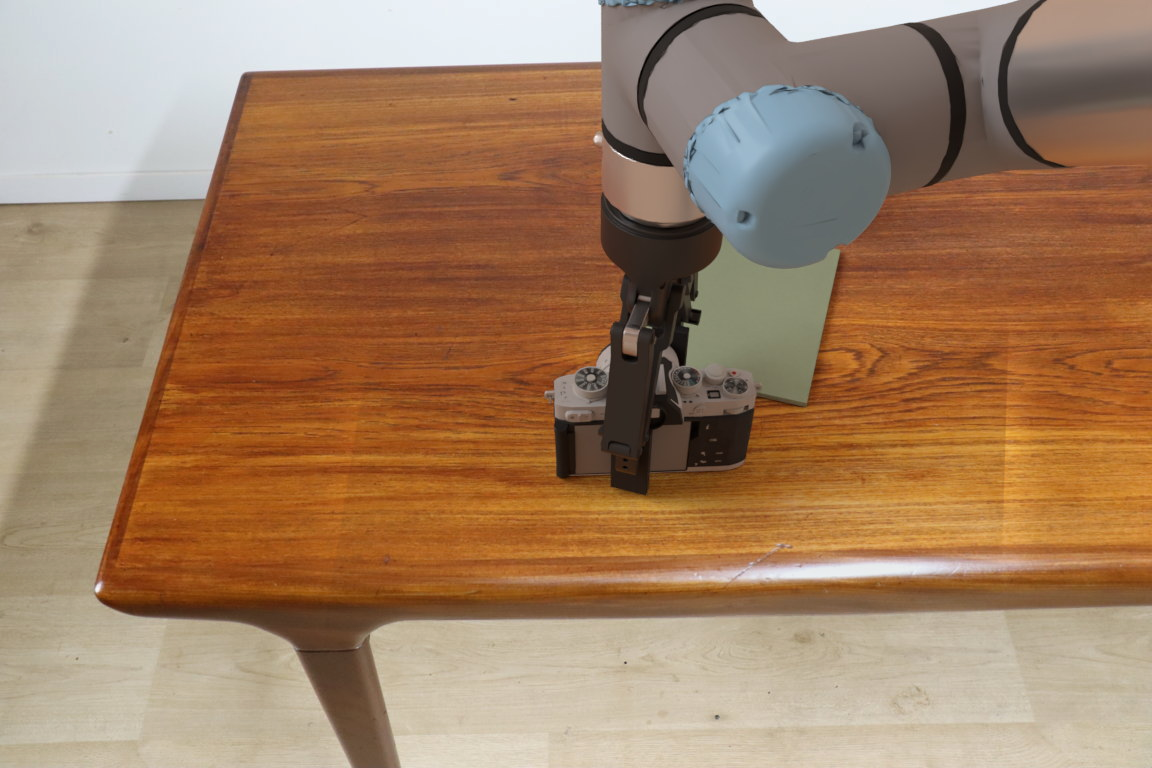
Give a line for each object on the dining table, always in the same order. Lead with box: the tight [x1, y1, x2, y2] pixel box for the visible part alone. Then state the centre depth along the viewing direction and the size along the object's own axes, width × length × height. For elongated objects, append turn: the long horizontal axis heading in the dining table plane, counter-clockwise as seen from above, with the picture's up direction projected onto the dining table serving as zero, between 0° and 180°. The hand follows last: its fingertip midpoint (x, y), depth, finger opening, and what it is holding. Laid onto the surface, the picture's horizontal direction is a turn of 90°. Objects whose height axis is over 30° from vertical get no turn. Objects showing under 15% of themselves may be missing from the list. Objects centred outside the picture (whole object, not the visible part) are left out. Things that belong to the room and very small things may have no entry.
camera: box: [543, 343, 762, 479], centre depth 69 cm, size 16×9×10 cm, turn 92°
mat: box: [646, 235, 841, 408], centre depth 83 cm, size 20×16×1 cm
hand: (648, 434), depth 72 cm, fingers closed on camera, 10 cm apart
